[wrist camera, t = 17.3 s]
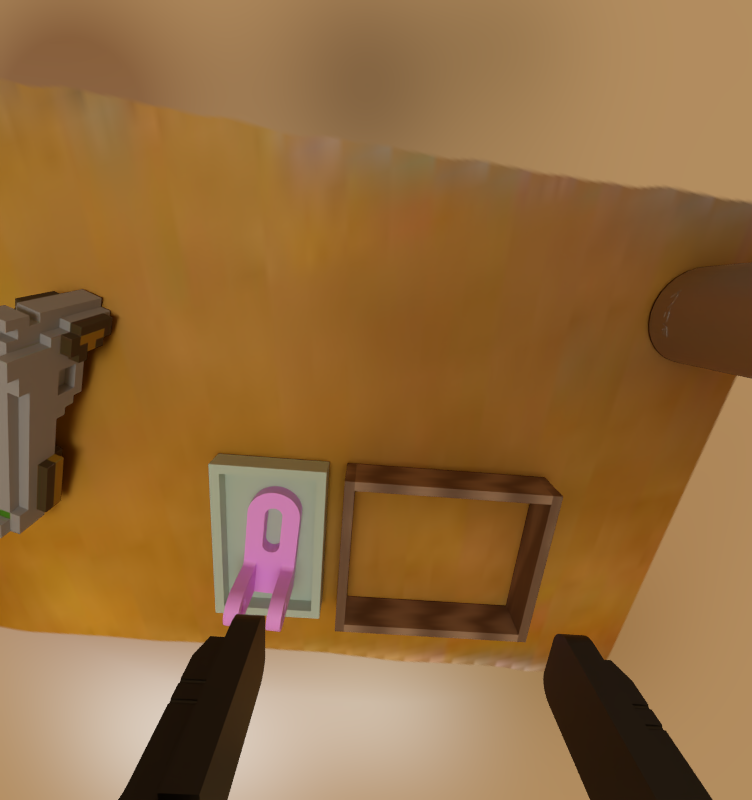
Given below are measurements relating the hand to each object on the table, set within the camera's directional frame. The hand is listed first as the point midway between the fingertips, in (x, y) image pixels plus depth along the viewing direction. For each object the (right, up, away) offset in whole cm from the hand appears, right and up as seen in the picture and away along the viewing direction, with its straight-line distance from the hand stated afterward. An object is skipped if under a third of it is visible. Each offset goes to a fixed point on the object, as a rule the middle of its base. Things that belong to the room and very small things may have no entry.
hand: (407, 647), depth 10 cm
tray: (-13, -9, +32) cm, 35 cm away
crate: (+6, -10, +32) cm, 34 cm away
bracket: (-12, -9, +31) cm, 34 cm away
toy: (-33, +6, +28) cm, 43 cm away
